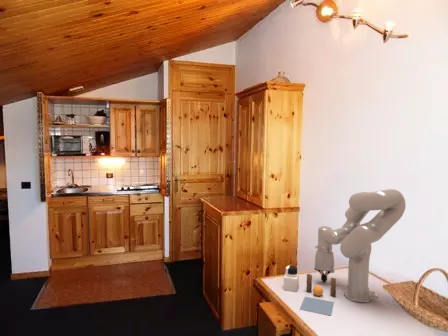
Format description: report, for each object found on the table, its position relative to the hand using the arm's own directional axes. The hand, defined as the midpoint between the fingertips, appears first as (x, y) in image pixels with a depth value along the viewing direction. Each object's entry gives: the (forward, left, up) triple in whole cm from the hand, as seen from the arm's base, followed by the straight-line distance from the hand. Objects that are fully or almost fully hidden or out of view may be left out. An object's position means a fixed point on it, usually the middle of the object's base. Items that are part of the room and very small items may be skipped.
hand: (324, 281), depth 179 cm
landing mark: (0, +27, -2) cm, 27 cm away
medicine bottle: (+16, +13, -2) cm, 20 cm away
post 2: (-6, +13, -2) cm, 14 cm away
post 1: (+6, +13, -2) cm, 14 cm away
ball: (+1, +15, +1) cm, 15 cm away
